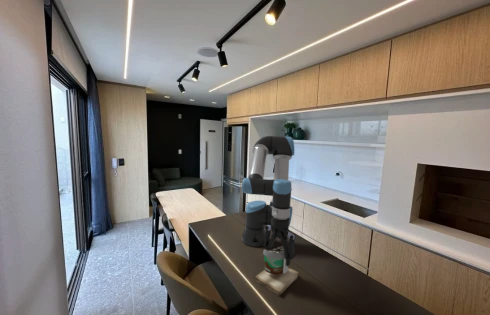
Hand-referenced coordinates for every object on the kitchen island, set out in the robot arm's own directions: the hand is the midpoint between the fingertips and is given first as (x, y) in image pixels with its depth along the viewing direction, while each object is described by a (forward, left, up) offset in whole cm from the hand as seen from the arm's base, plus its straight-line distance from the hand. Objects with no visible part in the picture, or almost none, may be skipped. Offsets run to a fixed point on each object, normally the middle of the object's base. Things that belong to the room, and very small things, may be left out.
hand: (277, 267), depth 87 cm
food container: (0, 0, -2) cm, 2 cm away
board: (0, 0, -5) cm, 5 cm away
